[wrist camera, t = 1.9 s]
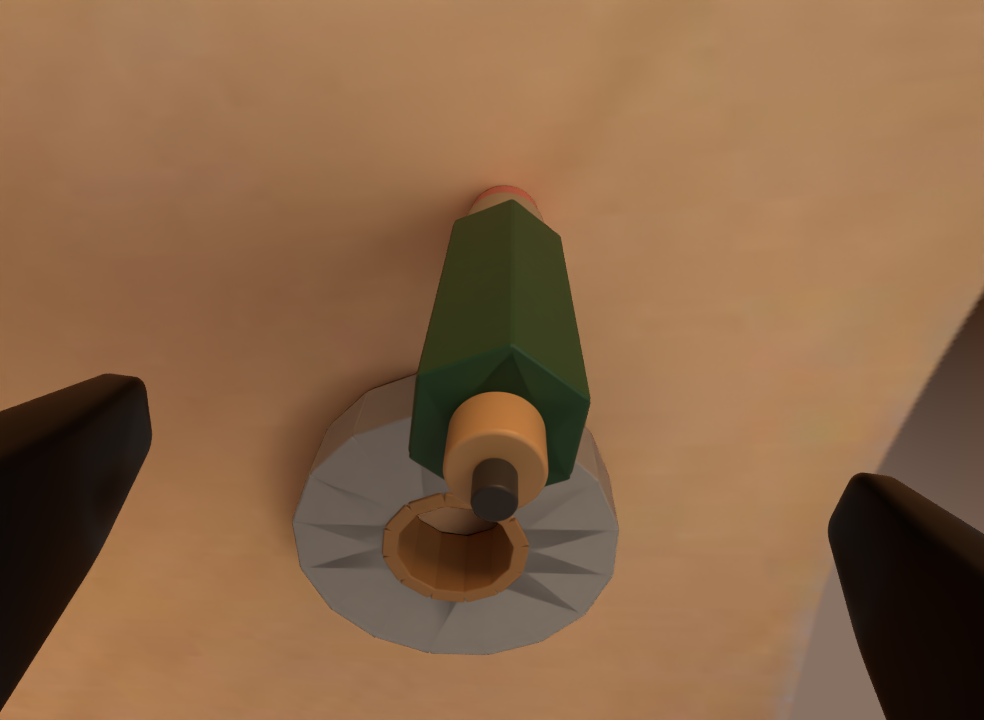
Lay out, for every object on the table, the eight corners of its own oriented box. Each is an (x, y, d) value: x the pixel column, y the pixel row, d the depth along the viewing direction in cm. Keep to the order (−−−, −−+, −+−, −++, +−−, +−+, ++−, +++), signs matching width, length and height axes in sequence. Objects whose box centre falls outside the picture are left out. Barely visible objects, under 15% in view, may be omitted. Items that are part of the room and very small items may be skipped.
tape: (394, 623, 26) (383, 684, 24) (259, 427, 22) (229, 478, 20) (642, 558, 24) (656, 617, 22) (548, 327, 20) (552, 371, 18)
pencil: (452, 261, 19) (385, 573, 9) (465, 160, 18) (402, 395, 8) (540, 274, 19) (570, 597, 9) (559, 174, 18) (620, 425, 8)
